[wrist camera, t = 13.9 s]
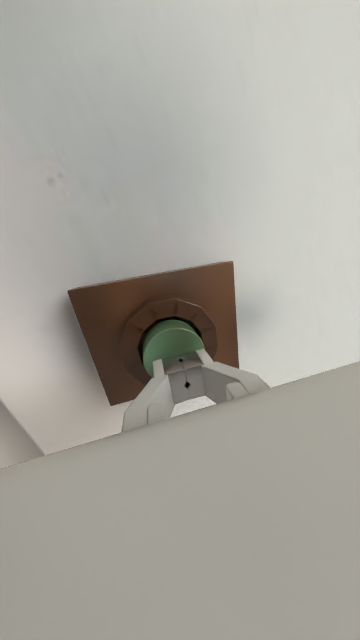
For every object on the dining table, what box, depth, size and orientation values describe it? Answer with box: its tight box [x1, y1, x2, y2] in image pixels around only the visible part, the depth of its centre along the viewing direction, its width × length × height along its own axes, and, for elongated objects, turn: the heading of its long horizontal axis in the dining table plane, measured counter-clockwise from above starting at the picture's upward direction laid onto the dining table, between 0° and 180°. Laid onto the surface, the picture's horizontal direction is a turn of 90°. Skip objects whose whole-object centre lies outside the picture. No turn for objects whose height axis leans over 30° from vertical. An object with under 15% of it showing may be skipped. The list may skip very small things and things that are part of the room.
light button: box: [143, 320, 205, 378], centre depth 11 cm, size 4×4×2 cm
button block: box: [67, 261, 239, 406], centre depth 14 cm, size 12×10×4 cm
